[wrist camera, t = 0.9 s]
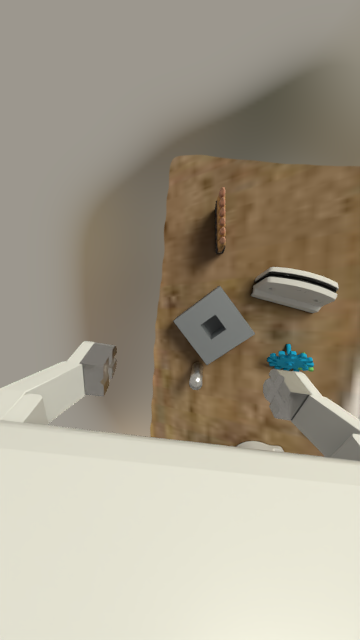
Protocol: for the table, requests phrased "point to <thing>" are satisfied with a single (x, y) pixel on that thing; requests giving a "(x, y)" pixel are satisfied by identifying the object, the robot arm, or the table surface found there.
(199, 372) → the steel pin
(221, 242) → the ammunition clip
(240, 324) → the pin block
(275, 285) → the hinge
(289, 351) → the gear
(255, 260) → the table surface
